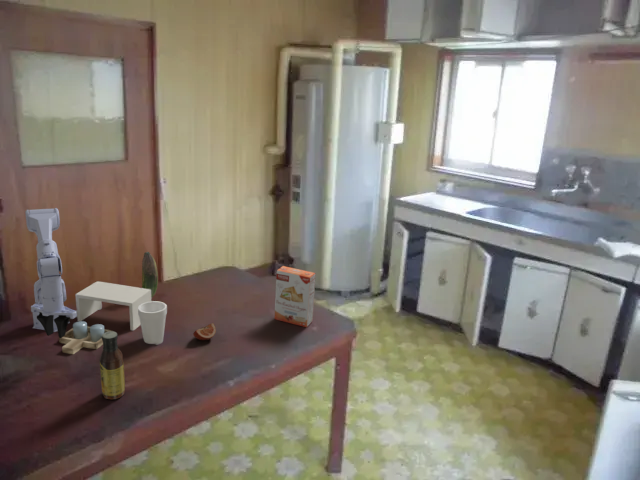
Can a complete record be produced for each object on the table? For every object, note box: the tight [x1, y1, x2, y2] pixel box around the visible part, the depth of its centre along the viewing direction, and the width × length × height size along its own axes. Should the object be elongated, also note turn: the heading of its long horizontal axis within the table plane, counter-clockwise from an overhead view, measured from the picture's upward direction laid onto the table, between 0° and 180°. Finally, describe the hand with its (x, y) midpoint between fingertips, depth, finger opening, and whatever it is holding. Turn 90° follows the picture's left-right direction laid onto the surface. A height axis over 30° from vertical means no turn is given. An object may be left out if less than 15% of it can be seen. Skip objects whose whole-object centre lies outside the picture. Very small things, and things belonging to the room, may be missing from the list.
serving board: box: [58, 325, 115, 355], centre depth 179 cm, size 14×15×2 cm
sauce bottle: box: [99, 330, 126, 400], centre depth 151 cm, size 6×6×20 cm
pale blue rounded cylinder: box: [72, 320, 88, 339], centre depth 183 cm, size 4×4×4 cm
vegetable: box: [141, 251, 159, 299], centre depth 215 cm, size 6×6×20 cm
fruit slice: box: [192, 322, 217, 341], centre depth 187 cm, size 8×7×5 cm
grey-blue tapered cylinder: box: [89, 323, 105, 342], centre depth 181 cm, size 4×4×4 cm
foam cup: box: [138, 300, 168, 346], centre depth 183 cm, size 10×9×13 cm
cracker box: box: [273, 265, 317, 328], centre depth 203 cm, size 14×6×21 cm, turn 68°
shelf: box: [74, 280, 152, 331], centre depth 196 cm, size 22×13×11 cm, turn 78°
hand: (56, 335), depth 165 cm, fingers open, 4 cm apart
